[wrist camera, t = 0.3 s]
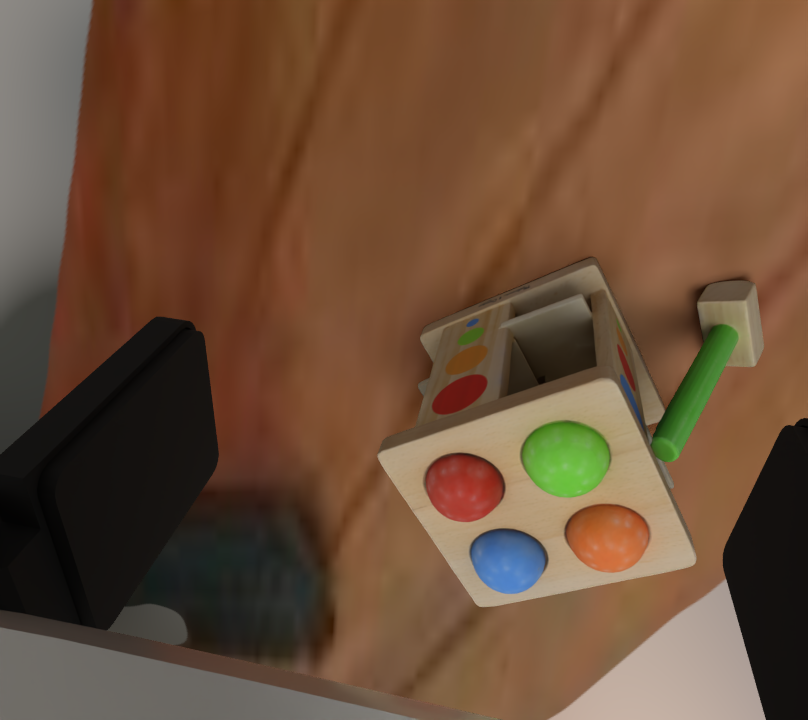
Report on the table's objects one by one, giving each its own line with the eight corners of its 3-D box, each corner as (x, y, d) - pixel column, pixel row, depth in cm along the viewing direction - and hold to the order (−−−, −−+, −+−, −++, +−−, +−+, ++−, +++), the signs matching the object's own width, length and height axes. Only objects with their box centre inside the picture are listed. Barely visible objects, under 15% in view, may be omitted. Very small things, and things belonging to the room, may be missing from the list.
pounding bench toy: (723, 200, 41) (821, 331, 26) (782, 372, 47) (891, 563, 32) (418, 327, 51) (362, 477, 36) (496, 459, 56) (476, 638, 41)
